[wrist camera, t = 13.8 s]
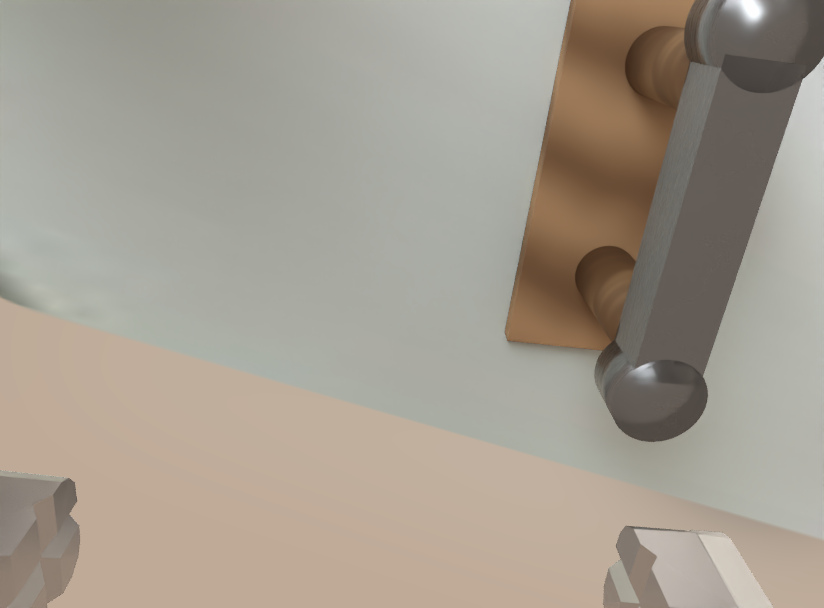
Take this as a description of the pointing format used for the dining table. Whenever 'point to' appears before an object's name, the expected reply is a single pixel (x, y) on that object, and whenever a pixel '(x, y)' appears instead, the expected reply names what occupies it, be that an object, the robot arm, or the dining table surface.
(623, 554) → the robot arm
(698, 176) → the metal bar
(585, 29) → the spanner rest
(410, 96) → the dining table surface
